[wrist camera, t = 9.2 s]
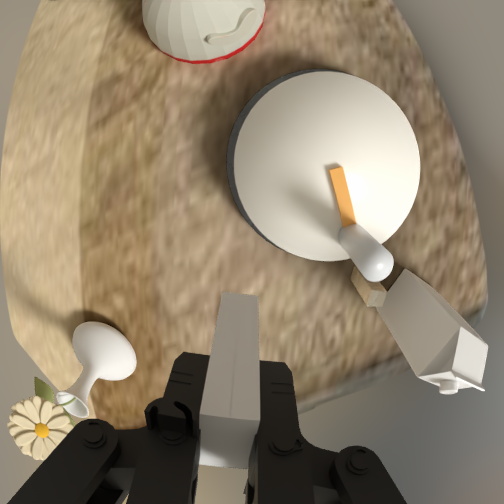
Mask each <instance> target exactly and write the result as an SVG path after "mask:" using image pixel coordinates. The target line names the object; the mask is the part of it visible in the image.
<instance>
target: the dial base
mask: <svg viewBox="0 0 504 504" xmlns="http://www.w3.org/2000/svg"><path fill="white" fill-rule="evenodd" d="M326 71H331V72H339V73H344V72H341V71H335V70H329V69H310V70H302V71H298V72H294V73H290V74H287V75H285V76H282V77H280V78H278V79H276V80H274V81H273V82H271V83H269V84H268V85H266V86H265V87H263V88H262V89H261V90H260V91H259V92H257V93H256V94H255V95H254V96H253V97H252V98H251V99H250V101H249V102H248V103H247V104H246V105H245V107H244V108H243V110H242V111H241V113H240V114H239V116H238V118H237V120H236V122H235V124H234V127H233V129H232V132H231V135H230V139H229V144H228V149H227V176H228V181H229V185H230V190H231V192H232V195H233V198H234V201H235V203H236V205H237V207H238V209H239V210H240V212H241V214H242V215H243V217H244V218H245V220H246V221H247V222H248V224H249V225H250V226H251V227H252V228H253V229H254V230H255V231H256V232H257V233H258V234H259V235H260V236H261V237H263V238H264V239H265V240H266V241H268V242H269V243H271V244H272V245H274V246H276V247H277V248H279V249H282V248H280V247H278V246H277V245H275V244H274V243H273V242H271V241H270V240H269V239H267V238H266V237H265V236H264V235H263V234H262V233H261V232H260V231H259V230H258V228H257V227H256V226H255V225H254V223H253V222H252V221H251V219H250V218H249V216H248V214H247V213H246V211H245V209H244V207H243V205H242V202H241V200H240V198H239V194H238V191H237V187H236V182H235V175H234V155H235V147H236V143H237V139H238V136H239V132H240V130H241V128H242V125H243V123H244V121H245V119H246V117H247V116H248V114H249V113H250V111H251V109H252V108H253V107H254V106H255V105H256V103H257V102H258V101H259V100H260V99H261V98H262V97H263V96H264V95H265V94H266V93H267V92H269V91H270V90H271V89H273V88H274V87H276V86H277V85H279V84H280V83H282V82H284V81H286V80H288V79H290V78H292V77H296V76H299V75H302V74H306V73H312V72H326ZM345 74H347V73H345ZM349 75H351V74H349ZM352 76H353V75H352ZM282 250H284V249H282ZM284 251H285V250H284ZM286 252H287V251H286ZM288 253H289V252H288ZM291 254H292V253H291ZM351 281H352V283H353V284H354V286H355V287H356V289H357V291H358V292H359V294H360V295H361V297H362V299H363V300H364V302H365V304H366V305H367V306H374V307H382V306H383V303H384V300H385V297H386V294H387V291H386V290H385V288H384V287H383V286H382V284H381V283H380V282H379V281H377V282H372V281H369V280H367V279H366V278H365V277H364V276H363V274H362V273H361V272H360V270H359V269H358V268H357V266H355V265H354V268H353V272H352V276H351Z"/></svg>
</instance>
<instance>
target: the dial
mask: <svg viewBox="0 0 504 504" xmlns="http://www.w3.org/2000/svg"><path fill="white" fill-rule="evenodd" d="M234 175H235V182H236V187H237V191H238V194H239V198H240V200H241V202H242V205H243V207H244V209H245V211H246V213H247V214H248V216H249V218H250V219H251V221H252V222H253V223H254V225H255V226H256V227H257V228H258V230H259V231H260V232H261V233H262V234H263V235H264V236H265V237H266V238H267V239H269V240H270V241H271V242H273V243H274V244H275V245H277V246H278V247H280V248H282V249H284V250H285V251H287V252H289V253H292V254H294V255H297V256H299V257H303V258H307V259H311V260H318V261H338V260H346V259H350V258H351V259H352V261H353V262H354V263H355V265H356V266H357V268H358V269H359V270H360V272H361V273H362V274H363V276H364V277H365V278H366V279H367V280H369V281H372V282H377V281H381V280H383V279H385V278H386V277H387V276H388V275H389V274H390V273H391V271H392V269H393V264H394V261H393V257H392V255H391V253H390V252H389V251H388V250H387V249H386V248H384V247H383V246H382V245H381V244H382V243H383V242H385V241H386V240H387V239H388V238H389V237H390V236H391V235H393V234H394V233H395V231H396V230H397V229H398V228H399V227H400V225H401V224H402V223H403V221H404V220H405V218H406V217H407V215H408V213H409V211H410V209H411V207H412V205H413V202H414V200H415V197H416V194H417V190H418V185H419V178H420V157H419V150H418V145H417V142H416V138H415V135H414V133H413V130H412V128H411V126H410V123H409V122H408V120H407V118H406V117H405V115H404V113H403V112H402V111H401V109H400V108H399V107H398V105H397V104H396V103H395V102H394V101H393V100H392V99H391V98H390V97H389V96H388V95H387V94H386V93H384V92H383V91H382V90H380V89H379V88H378V87H376V86H374V85H373V84H371V83H369V82H368V81H365V80H363V79H361V78H358V77H356V76H352V75H349V74H345V73H339V72H331V71H326V72H312V73H306V74H302V75H299V76H296V77H292V78H290V79H288V80H286V81H284V82H282V83H280V84H279V85H277V86H276V87H274V88H273V89H271V90H270V91H269V92H267V93H266V94H265V95H264V96H263V97H262V98H261V99H260V100H259V101H258V102H257V103H256V105H255V106H254V107H253V108H252V109H251V111H250V113H249V114H248V116H247V117H246V119H245V121H244V123H243V125H242V128H241V130H240V132H239V136H238V139H237V143H236V147H235V155H234Z"/></svg>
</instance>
